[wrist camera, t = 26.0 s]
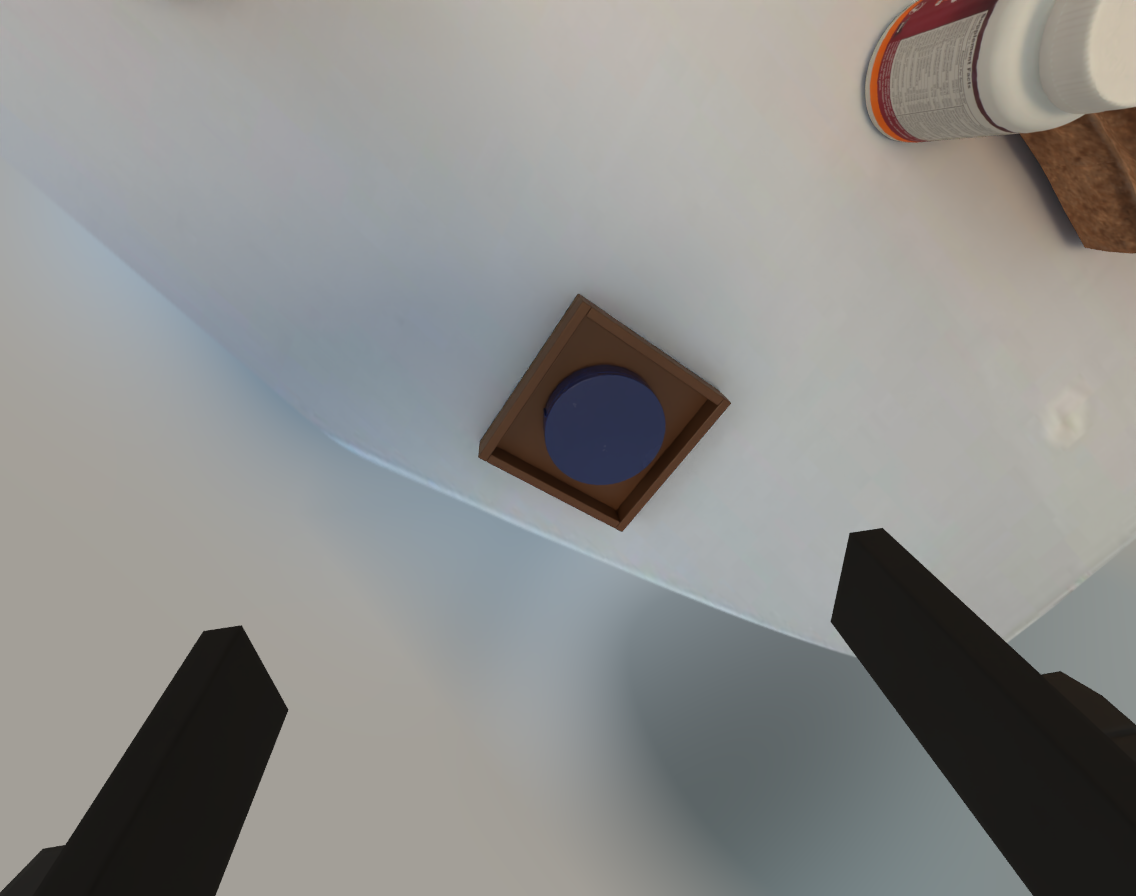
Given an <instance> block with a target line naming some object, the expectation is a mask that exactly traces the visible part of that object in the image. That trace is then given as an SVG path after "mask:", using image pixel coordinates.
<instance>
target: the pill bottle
mask: <svg viewBox="0 0 1136 896" xmlns="http://www.w3.org/2000/svg"><path fill="white" fill-rule="evenodd" d="M865 98H866V106H867V110H868V113H869V116H870V118H871V121H872V122H873V124H874V125H875V127H876V128H877V129H878V130H879V131H880V132H881V133H882V134H884V135H885V136H887V137H888V138H890V139H892V140H895V141H899V142H926V141H938V140H948V139H960V138H971V137H983V136H995V135H1008V134H1020V133H1032V132H1038V131H1045V130H1050V129H1053V128H1057V127H1060V126H1063V125H1065V124H1067V123H1070V122H1072V121H1074V120H1076V119H1078V118H1080V117H1081V116H1083V115H1085V114H1090V113H1099V112H1104V111H1109V110H1118V109H1126V108H1132V107H1136V0H918V1H917V2H915V3H913V4H912V5H910V6H909V7H908V8H906V9H905V10H904V11H903V12H902V13H900V14H899V15H898V16H897V17H896V18H895V19H894V20H893V22H892V23H891V24H890V25H889V27H888V28H887V29H886V31H885V32H884V34H883V35H882V37H881V39H880V40H879V42H878V44H877V46H876V48H875V50H874V52H873V55H872V57H871V60H870V63H869V67H868V71H867V76H866V83H865Z"/></svg>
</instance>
